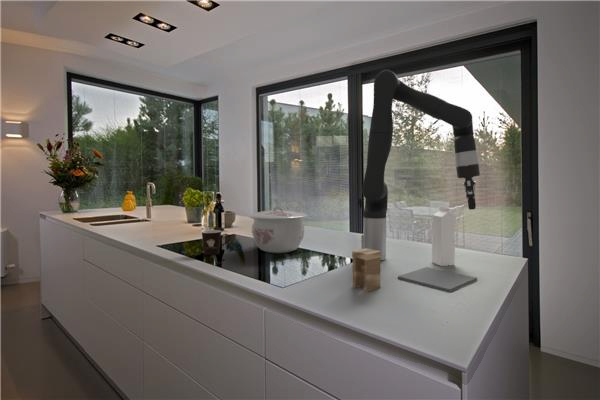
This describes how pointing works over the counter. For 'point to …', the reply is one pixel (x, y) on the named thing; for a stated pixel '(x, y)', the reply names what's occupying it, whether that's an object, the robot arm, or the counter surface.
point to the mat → (438, 279)
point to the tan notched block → (366, 268)
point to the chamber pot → (278, 230)
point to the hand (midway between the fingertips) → (472, 208)
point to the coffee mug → (212, 241)
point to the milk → (443, 238)
